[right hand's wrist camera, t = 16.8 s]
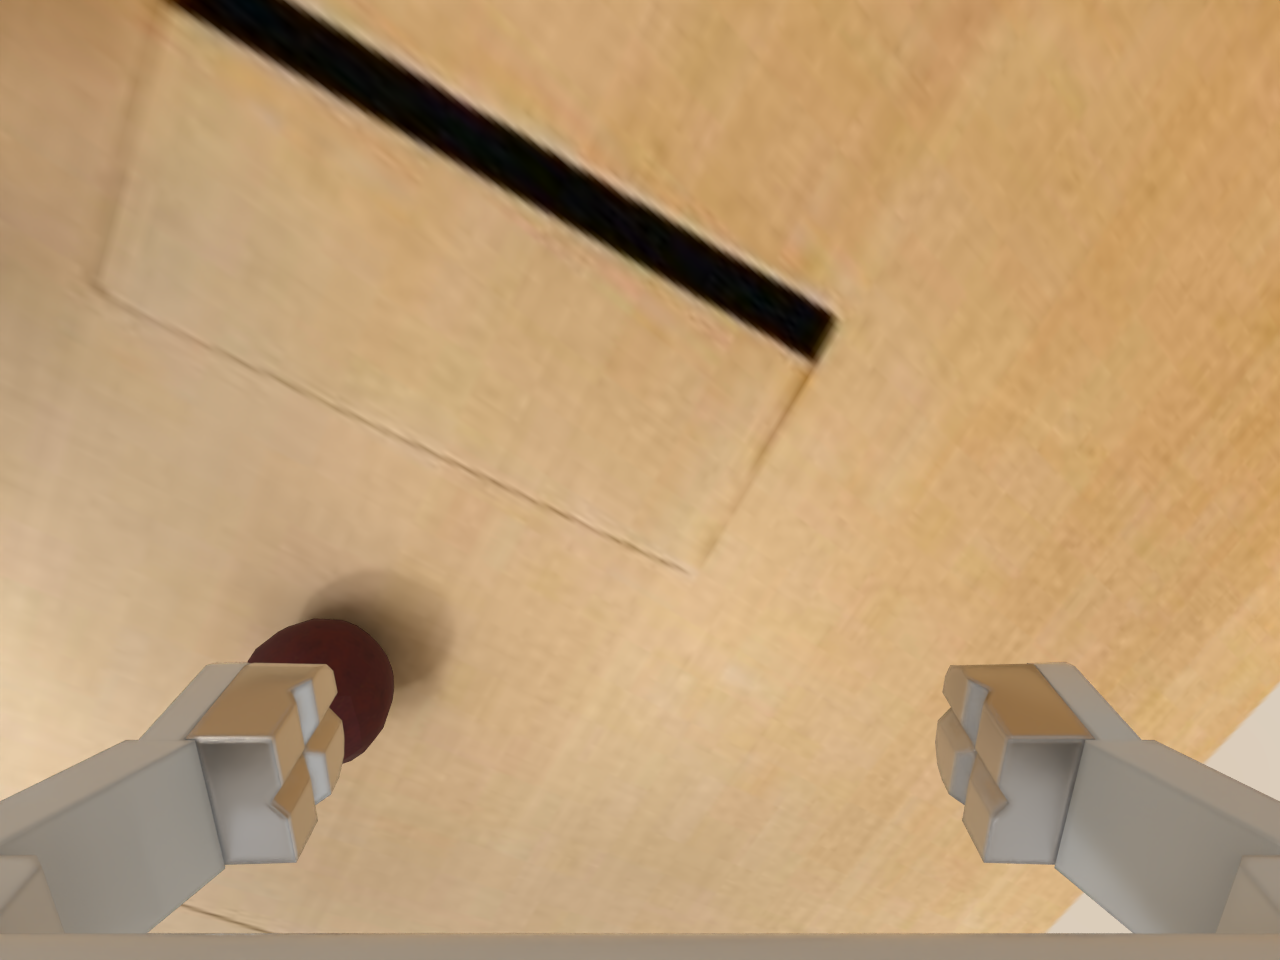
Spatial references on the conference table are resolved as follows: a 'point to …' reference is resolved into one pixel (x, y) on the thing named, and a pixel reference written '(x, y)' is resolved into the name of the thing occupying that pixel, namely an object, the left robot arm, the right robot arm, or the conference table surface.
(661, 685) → the conference table surface
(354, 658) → the dark maroon ball
